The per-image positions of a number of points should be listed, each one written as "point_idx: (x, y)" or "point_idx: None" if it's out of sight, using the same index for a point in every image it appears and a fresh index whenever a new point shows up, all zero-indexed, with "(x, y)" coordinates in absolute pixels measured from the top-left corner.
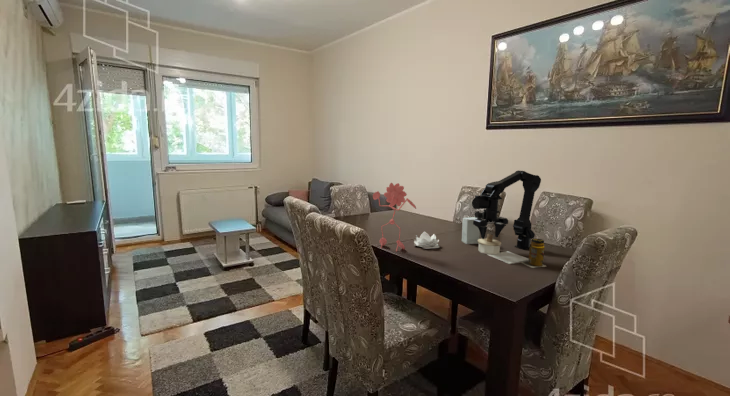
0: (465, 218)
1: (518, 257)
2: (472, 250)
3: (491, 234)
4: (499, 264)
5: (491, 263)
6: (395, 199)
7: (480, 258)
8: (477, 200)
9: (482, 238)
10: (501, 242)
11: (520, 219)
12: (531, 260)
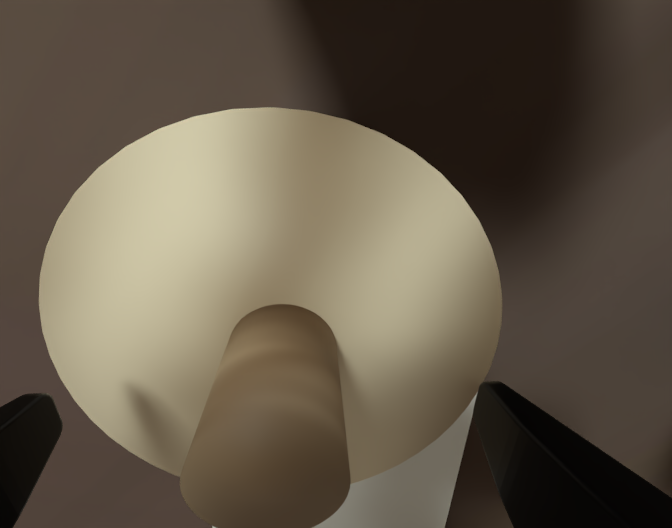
0: None
1: (399, 486)
2: (117, 110)
3: (314, 493)
4: (136, 516)
5: (81, 491)
6: None
7: (48, 384)
8: None
9: (30, 412)
10: (419, 450)
11: None
12: None
